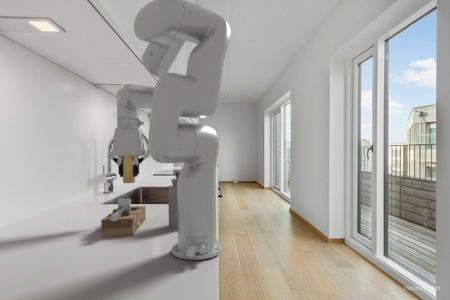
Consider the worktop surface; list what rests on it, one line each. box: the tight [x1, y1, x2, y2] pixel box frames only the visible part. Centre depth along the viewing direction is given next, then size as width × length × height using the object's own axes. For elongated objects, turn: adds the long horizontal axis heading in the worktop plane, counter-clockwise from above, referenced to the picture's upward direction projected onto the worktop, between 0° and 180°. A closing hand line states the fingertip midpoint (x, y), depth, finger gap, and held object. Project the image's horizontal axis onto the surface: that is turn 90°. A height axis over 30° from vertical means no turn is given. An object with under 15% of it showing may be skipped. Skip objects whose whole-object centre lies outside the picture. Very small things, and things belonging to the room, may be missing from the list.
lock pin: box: [111, 198, 132, 221], centre depth 87 cm, size 12×4×4 cm, turn 5°
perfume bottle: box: [167, 171, 180, 229], centre depth 94 cm, size 7×7×18 cm
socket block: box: [100, 205, 147, 238], centre depth 93 cm, size 20×9×7 cm, turn 5°
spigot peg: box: [122, 156, 136, 184], centre depth 99 cm, size 4×4×10 cm
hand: (129, 176), depth 99 cm, fingers closed on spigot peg, 4 cm apart
